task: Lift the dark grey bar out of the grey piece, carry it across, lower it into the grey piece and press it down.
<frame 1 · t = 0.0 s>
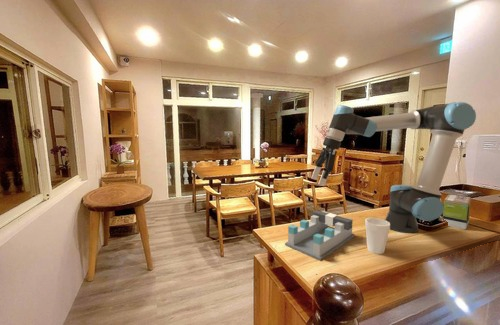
hand: (317, 182, 109), 28 cm above the wooden counter, tool tilted 20°, fingers open, 13 cm apart
dark grey bar: (331, 223, 115), point 6 cm above the wooden counter, touching grey piece
tea box: (455, 224, 128), on the wooden counter
foam cup: (375, 250, 100), on the wooden counter
grey piece: (321, 240, 110), on the wooden counter
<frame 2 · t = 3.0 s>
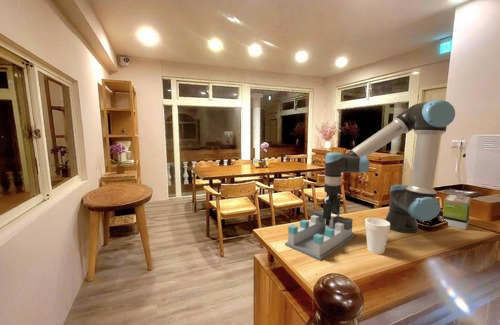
hand: (330, 229, 115), 3 cm above the wooden counter, tool pointing down, fingers closed on dark grey bar, 5 cm apart
dark grey bar: (331, 223, 115), point 6 cm above the wooden counter, touching grey piece, gripper
everything else where it was.
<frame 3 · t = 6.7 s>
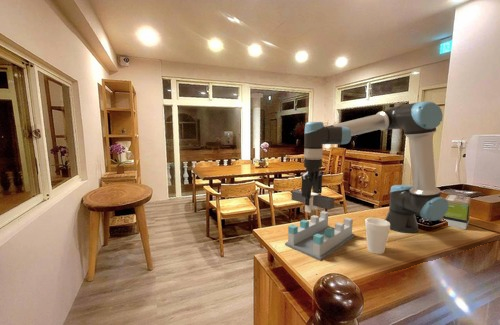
hand: (311, 210, 102), 17 cm above the wooden counter, tool pointing down, fingers closed on dark grey bar, 5 cm apart
dark grey bar: (311, 203, 101), point 20 cm above the wooden counter, touching gripper
everything else where it was.
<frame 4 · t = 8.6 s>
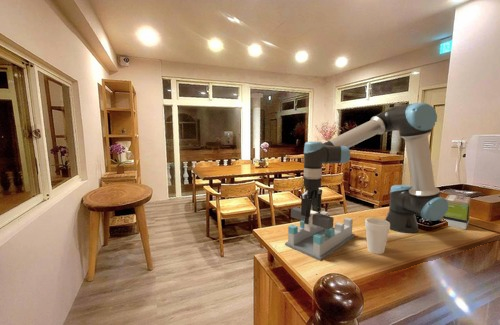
hand: (310, 228, 102), 9 cm above the wooden counter, tool pointing down, fingers closed on dark grey bar, 5 cm apart
dark grey bar: (310, 221, 102), point 12 cm above the wooden counter, touching gripper
everything else where it was.
when the fingers open (4 cm above the wooden counter, at t = 10.4 s): dark grey bar drops 1 cm, resting on grey piece.
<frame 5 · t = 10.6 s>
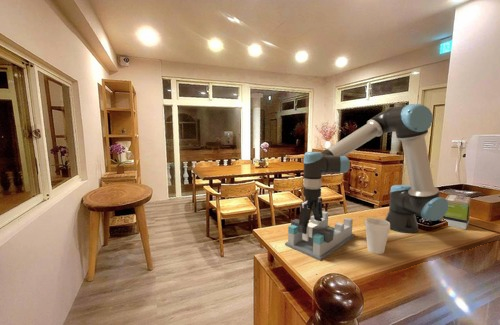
hand: (310, 237, 103), 5 cm above the wooden counter, tool pointing down, fingers open, 8 cm apart
dark grey bar: (310, 234, 103), point 6 cm above the wooden counter, touching grey piece
everything else where it was.
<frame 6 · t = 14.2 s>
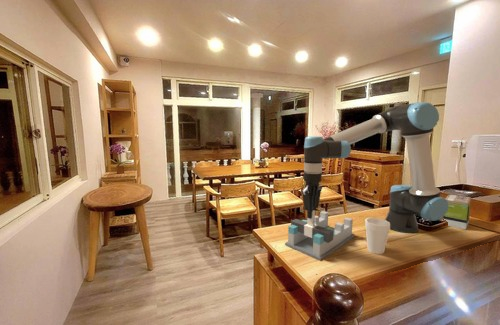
hand: (310, 224, 102), 11 cm above the wooden counter, tool pointing down, fingers closed
dark grey bar: (310, 234, 103), point 6 cm above the wooden counter, touching grey piece, gripper
everything else where it was.
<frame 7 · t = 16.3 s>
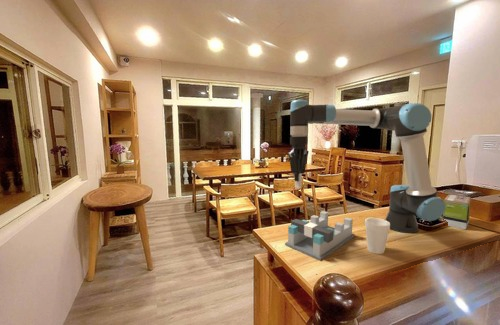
hand: (298, 187, 105), 26 cm above the wooden counter, tool pointing down, fingers closed
dark grey bar: (310, 234, 103), point 6 cm above the wooden counter, touching grey piece
everything else where it was.
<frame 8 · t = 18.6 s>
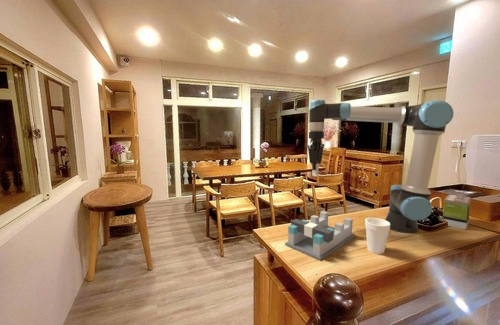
hand: (315, 175, 121), 28 cm above the wooden counter, tool pointing down, fingers closed
nothing on the wooden counter moved.
at the end: dark grey bar 0.0 cm from the target spot on the grey piece, point 6.0 cm above the grey piece's base; dark grey bar tilted 0°; the gripper is holding nothing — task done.
